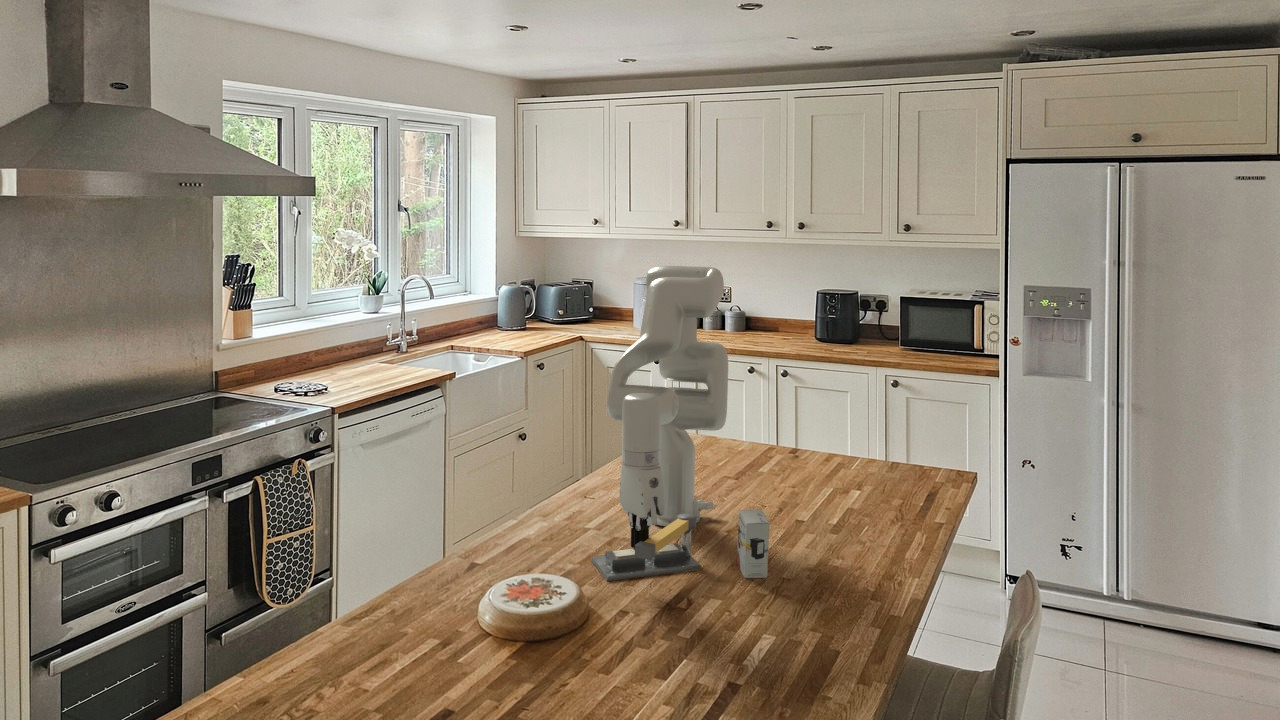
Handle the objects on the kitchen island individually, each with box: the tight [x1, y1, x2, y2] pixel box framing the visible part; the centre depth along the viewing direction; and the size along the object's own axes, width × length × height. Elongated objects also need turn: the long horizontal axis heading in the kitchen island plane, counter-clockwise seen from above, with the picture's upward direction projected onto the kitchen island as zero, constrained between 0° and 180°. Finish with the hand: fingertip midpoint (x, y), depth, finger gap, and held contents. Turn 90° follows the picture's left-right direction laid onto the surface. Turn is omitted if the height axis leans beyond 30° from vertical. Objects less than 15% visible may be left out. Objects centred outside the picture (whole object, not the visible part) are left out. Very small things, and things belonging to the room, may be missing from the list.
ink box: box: [736, 508, 770, 579], centre depth 199 cm, size 9×5×12 cm, turn 5°
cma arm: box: [635, 514, 697, 560], centre depth 195 cm, size 22×4×2 cm, turn 152°
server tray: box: [591, 530, 701, 582], centre depth 201 cm, size 20×11×7 cm, turn 109°
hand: (639, 547), depth 192 cm, fingers closed
